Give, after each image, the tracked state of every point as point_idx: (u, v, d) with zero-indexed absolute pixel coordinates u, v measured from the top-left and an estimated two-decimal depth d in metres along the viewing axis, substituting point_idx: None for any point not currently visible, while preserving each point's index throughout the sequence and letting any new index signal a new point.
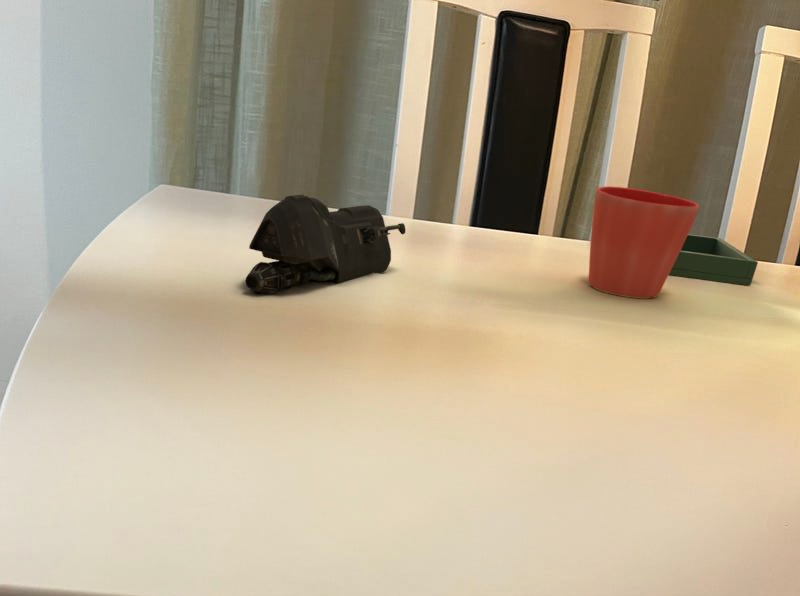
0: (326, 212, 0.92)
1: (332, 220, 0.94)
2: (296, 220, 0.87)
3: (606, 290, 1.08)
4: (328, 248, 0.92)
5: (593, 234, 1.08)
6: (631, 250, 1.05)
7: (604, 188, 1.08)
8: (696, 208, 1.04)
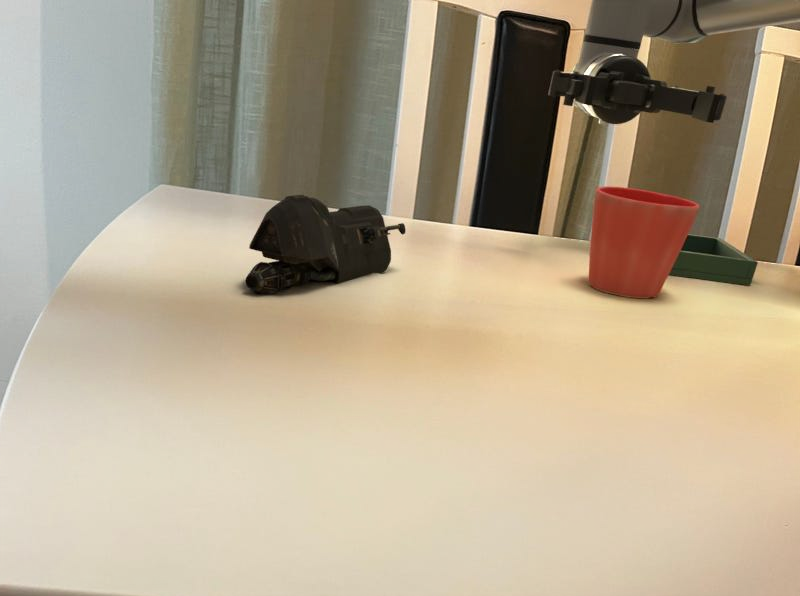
0: (326, 212, 0.92)
1: (332, 220, 0.94)
2: (296, 220, 0.87)
3: (606, 290, 1.08)
4: (328, 248, 0.92)
5: (593, 234, 1.08)
6: (631, 250, 1.05)
7: (604, 188, 1.08)
8: (696, 208, 1.04)
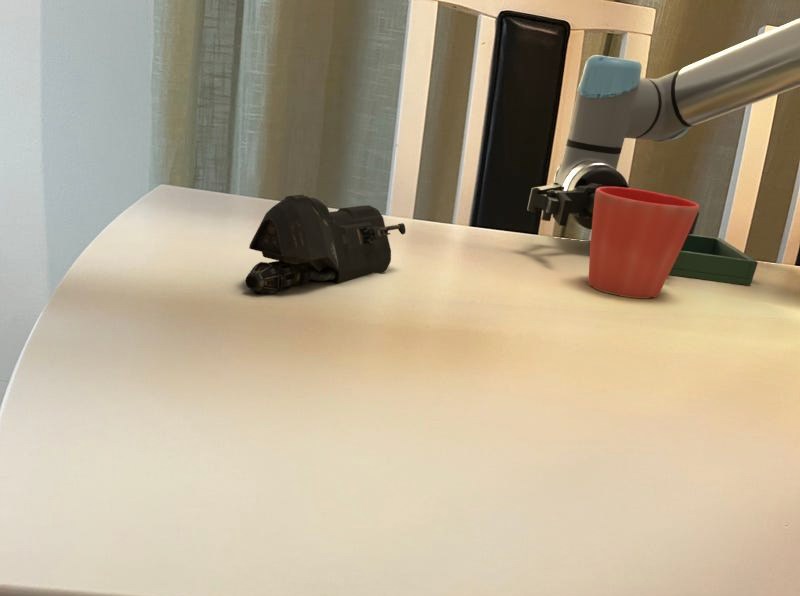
0: (326, 212, 0.92)
1: (332, 220, 0.94)
2: (296, 220, 0.87)
3: (606, 290, 1.08)
4: (328, 248, 0.92)
5: (593, 234, 1.08)
6: (631, 250, 1.05)
7: (604, 188, 1.08)
8: (696, 208, 1.04)
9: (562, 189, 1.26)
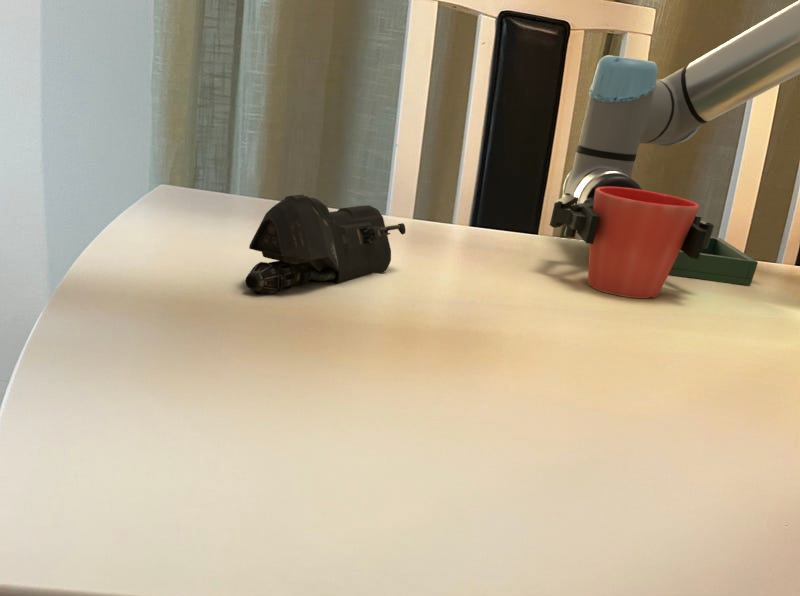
0: (326, 212, 0.92)
1: (332, 220, 0.94)
2: (296, 220, 0.87)
3: (605, 290, 1.08)
4: (328, 248, 0.92)
5: None
6: (630, 250, 1.05)
7: (604, 188, 1.08)
8: (695, 208, 1.04)
9: (576, 200, 1.17)
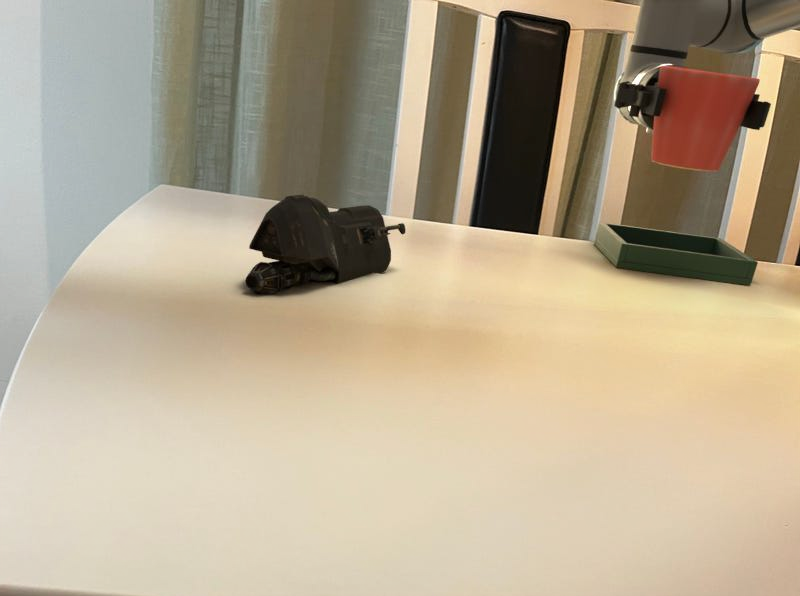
0: (326, 212, 0.92)
1: (332, 220, 0.94)
2: (296, 220, 0.87)
3: (670, 164, 1.14)
4: (328, 248, 0.92)
5: None
6: (695, 121, 1.10)
7: (667, 67, 1.14)
8: (757, 80, 1.09)
9: None
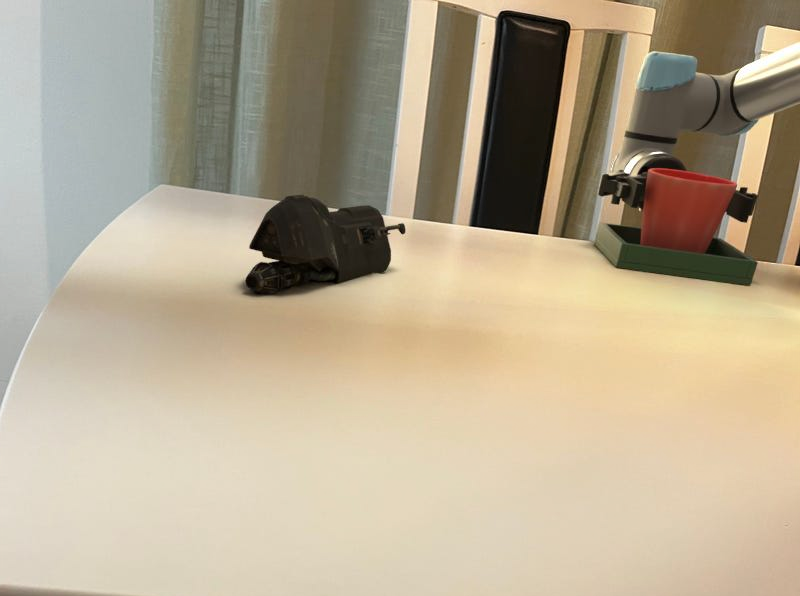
0: (326, 212, 0.92)
1: (332, 220, 0.94)
2: (296, 220, 0.87)
3: None
4: (328, 248, 0.92)
5: (645, 209, 1.26)
6: (679, 222, 1.23)
7: (654, 169, 1.26)
8: (735, 186, 1.22)
9: (627, 176, 1.35)
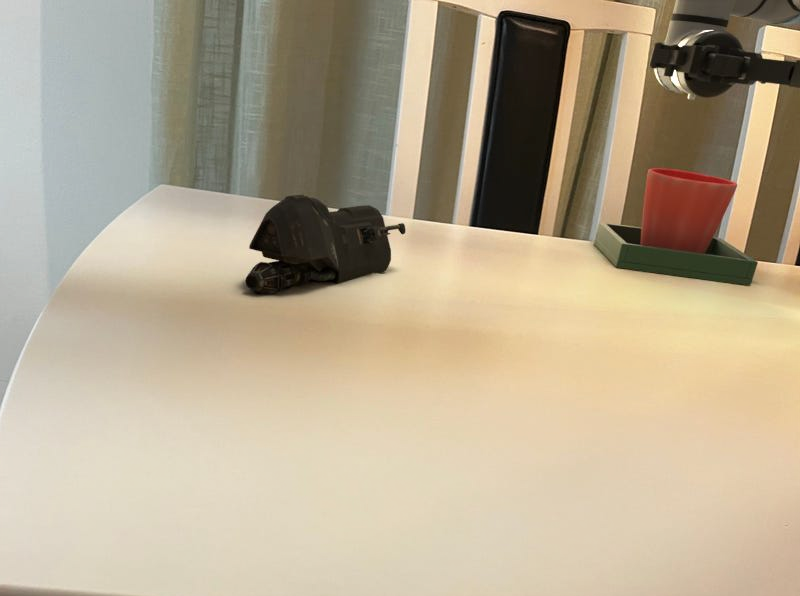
0: (326, 212, 0.92)
1: (332, 220, 0.94)
2: (296, 220, 0.87)
3: None
4: (328, 248, 0.92)
5: (645, 209, 1.26)
6: (679, 222, 1.23)
7: (654, 169, 1.26)
8: (735, 186, 1.22)
9: None
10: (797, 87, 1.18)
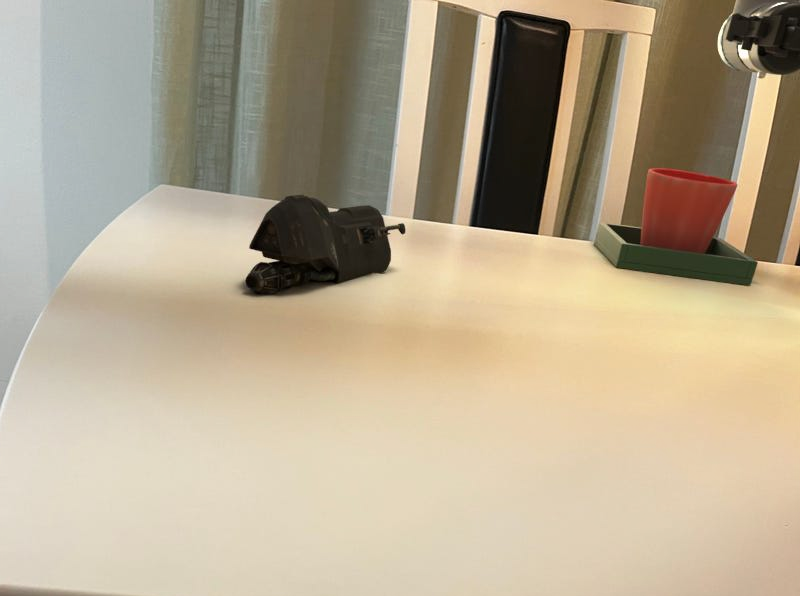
0: (326, 212, 0.92)
1: (332, 220, 0.94)
2: (296, 220, 0.87)
3: None
4: (328, 248, 0.92)
5: (645, 209, 1.26)
6: (679, 222, 1.23)
7: (655, 169, 1.26)
8: (735, 186, 1.22)
9: None
10: None
